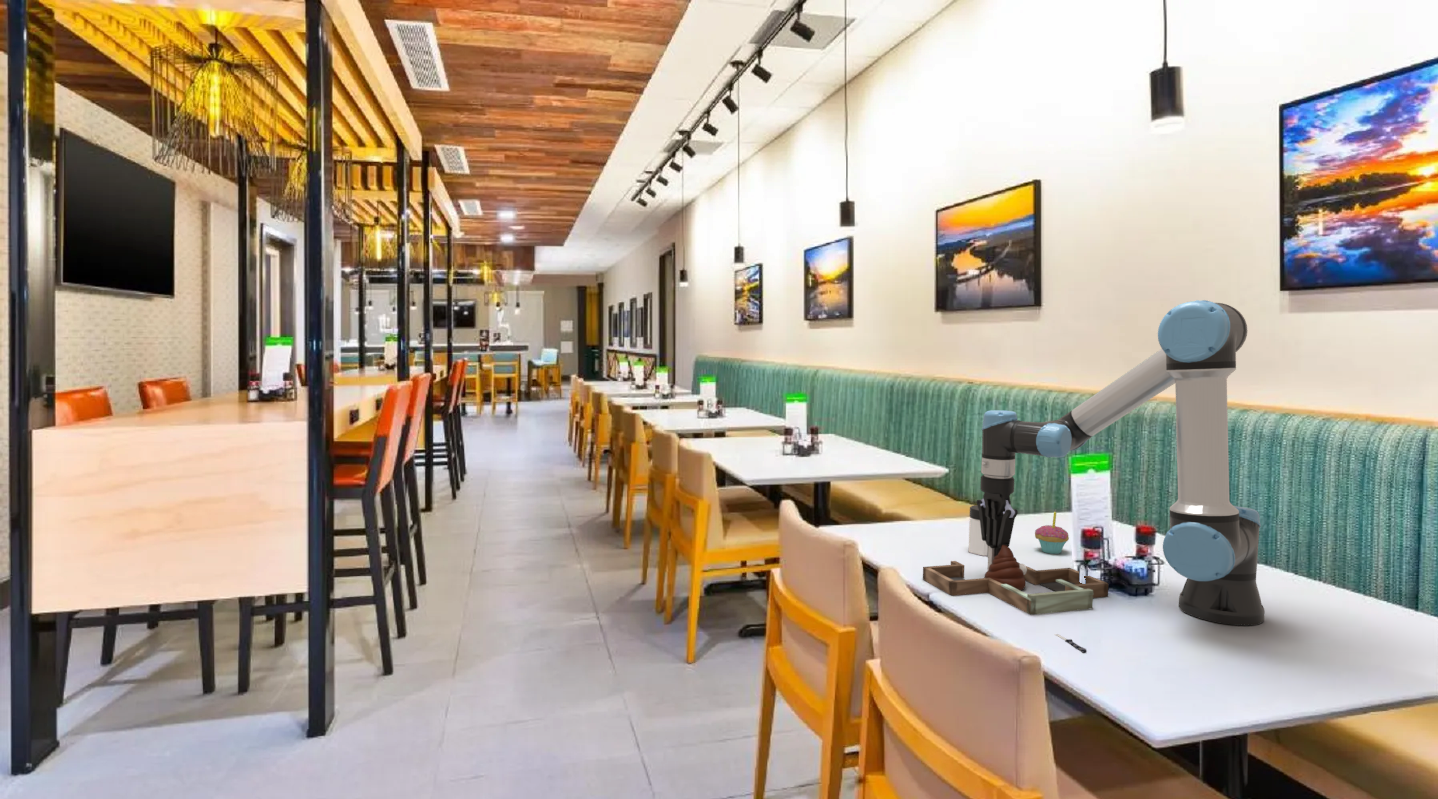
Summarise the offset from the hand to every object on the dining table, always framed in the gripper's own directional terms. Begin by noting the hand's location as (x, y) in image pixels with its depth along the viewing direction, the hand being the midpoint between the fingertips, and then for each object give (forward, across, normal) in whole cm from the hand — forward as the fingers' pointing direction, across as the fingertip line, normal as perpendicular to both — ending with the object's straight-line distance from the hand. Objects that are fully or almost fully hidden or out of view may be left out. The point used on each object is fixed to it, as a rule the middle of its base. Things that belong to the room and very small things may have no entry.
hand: (994, 573), depth 186 cm
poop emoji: (+2, +5, -1) cm, 6 cm away
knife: (+2, +34, -11) cm, 35 cm away
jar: (+2, -22, +12) cm, 25 cm away
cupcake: (+2, -18, +30) cm, 35 cm away
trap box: (+1, +9, 0) cm, 9 cm away
